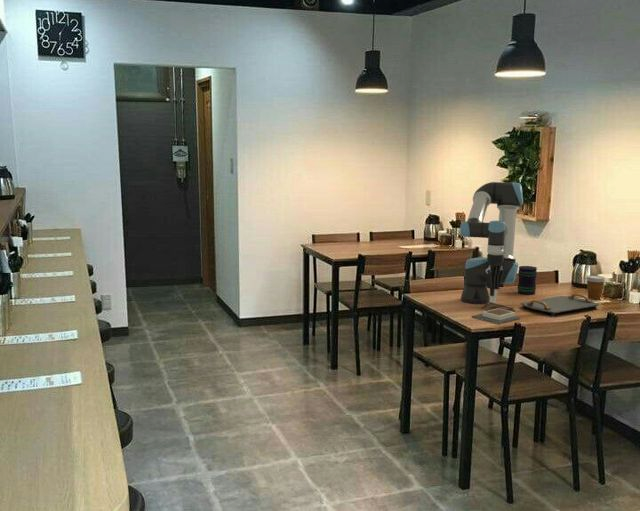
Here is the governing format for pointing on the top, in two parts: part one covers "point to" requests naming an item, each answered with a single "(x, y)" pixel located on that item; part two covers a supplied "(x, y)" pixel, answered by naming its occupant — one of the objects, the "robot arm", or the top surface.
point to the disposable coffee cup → (595, 286)
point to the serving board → (560, 304)
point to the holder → (495, 306)
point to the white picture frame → (499, 314)
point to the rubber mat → (495, 319)
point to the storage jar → (527, 280)
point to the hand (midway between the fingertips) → (493, 302)
